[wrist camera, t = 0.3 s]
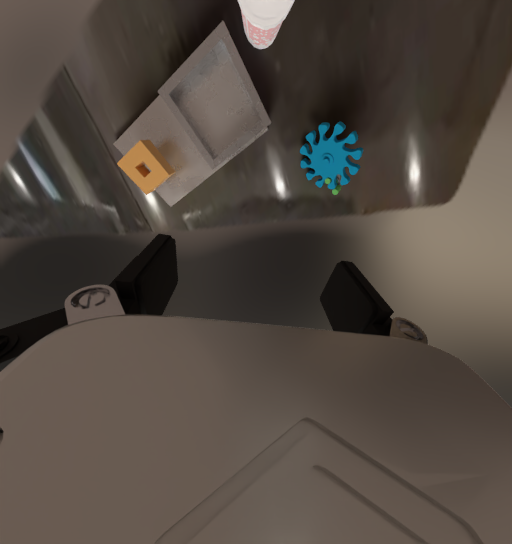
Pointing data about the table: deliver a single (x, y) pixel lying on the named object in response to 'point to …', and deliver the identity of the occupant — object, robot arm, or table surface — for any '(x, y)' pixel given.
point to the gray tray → (200, 116)
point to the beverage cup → (263, 19)
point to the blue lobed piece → (331, 157)
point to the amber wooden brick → (138, 171)
